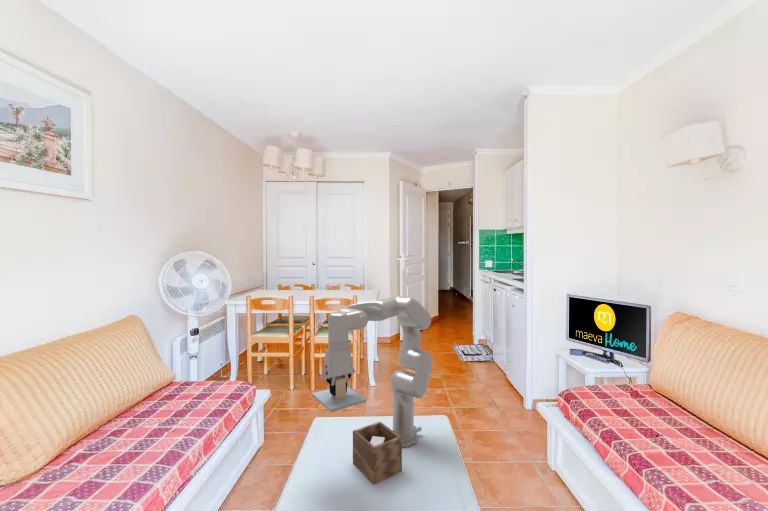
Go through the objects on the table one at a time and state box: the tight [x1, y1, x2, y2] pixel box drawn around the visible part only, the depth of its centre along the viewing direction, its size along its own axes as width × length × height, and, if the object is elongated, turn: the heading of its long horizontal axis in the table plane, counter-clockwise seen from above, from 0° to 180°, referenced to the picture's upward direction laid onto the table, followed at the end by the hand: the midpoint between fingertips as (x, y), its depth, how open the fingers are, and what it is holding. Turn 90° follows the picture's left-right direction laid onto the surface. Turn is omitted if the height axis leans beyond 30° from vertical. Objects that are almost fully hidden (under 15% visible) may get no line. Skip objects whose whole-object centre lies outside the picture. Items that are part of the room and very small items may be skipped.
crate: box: [352, 421, 403, 486], centre depth 138 cm, size 13×15×14 cm
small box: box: [370, 436, 385, 446], centre depth 138 cm, size 8×6×10 cm
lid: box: [311, 376, 367, 413], centre depth 130 cm, size 14×16×9 cm
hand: (338, 392), depth 130 cm, fingers closed on lid, 4 cm apart
